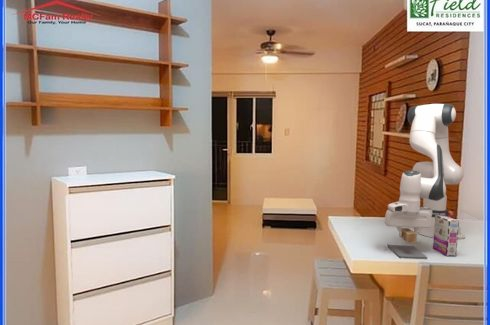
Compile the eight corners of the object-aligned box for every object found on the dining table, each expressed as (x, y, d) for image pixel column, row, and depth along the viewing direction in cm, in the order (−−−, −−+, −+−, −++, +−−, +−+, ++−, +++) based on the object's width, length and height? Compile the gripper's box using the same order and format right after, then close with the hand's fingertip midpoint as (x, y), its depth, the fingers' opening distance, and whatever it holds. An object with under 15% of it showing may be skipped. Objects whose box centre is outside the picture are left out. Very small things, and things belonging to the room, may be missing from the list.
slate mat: (412, 247, 182) (412, 245, 182) (427, 259, 166) (427, 257, 166) (387, 246, 182) (387, 244, 182) (399, 258, 166) (399, 256, 166)
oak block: (407, 233, 168) (399, 227, 178) (407, 242, 168) (399, 236, 178) (416, 234, 167) (408, 228, 177) (416, 242, 168) (407, 236, 178)
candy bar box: (457, 256, 170) (459, 220, 168) (446, 256, 170) (449, 220, 168) (442, 248, 181) (444, 214, 180) (432, 248, 181) (434, 214, 179)
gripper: (429, 206, 175) (427, 235, 176) (384, 204, 175) (382, 233, 177) (435, 208, 168) (433, 239, 170) (389, 207, 169) (387, 237, 170)
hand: (407, 236), depth 173 cm, fingers closed on oak block, 4 cm apart
